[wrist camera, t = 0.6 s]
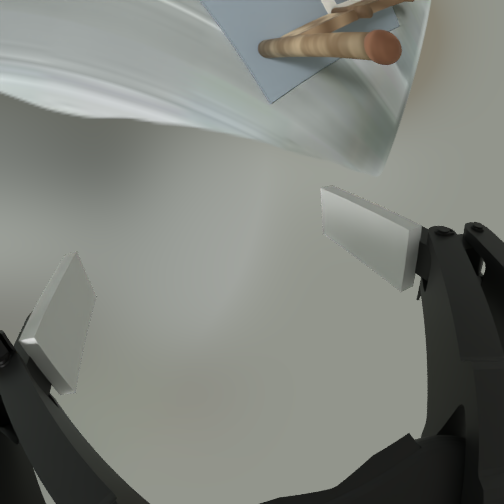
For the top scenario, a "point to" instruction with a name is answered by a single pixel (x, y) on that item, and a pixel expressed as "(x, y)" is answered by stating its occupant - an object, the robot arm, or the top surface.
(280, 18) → the card
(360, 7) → the fence fixed
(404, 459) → the robot arm
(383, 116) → the top surface
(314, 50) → the folding fence panel
